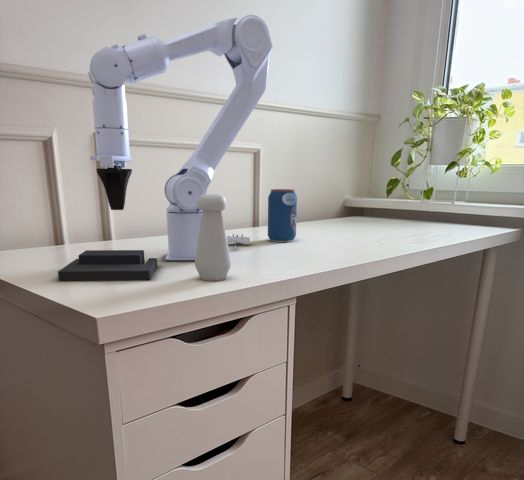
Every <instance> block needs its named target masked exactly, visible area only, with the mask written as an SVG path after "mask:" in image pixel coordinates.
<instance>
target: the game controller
mask: <svg viewBox="0 0 524 480" xmlns="http://www.w3.org/2000/svg"><path fill="white" fill-rule="evenodd" d="M240 235H241V236H239V234H236V235H235V234H234V233H232V236H230V235H226V238H227V243H228V244H229V243H233V244H234V246H233V249H236V246H237V244H242V243H243V244H250V241H251V239H250V237H249V236H244V234H243V233H242V234H240Z"/></svg>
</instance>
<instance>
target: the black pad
mask: <svg viewBox="0 0 524 480" xmlns="http://www.w3.org/2000/svg"><path fill="white" fill-rule="evenodd" d="M157 268H158V258H157V257H148V259H147V261H146V262H145V264H89V265H79V258H76V259H74V260H73V261H71V262H69V263H68V264H67V265H65V266H64V267H62V268H61V269H59V270H58V271H57V277H58V281H59V282H76V281H77V282H81V281H82V282H84V281H85V282H86V281H87V282H89V281H91V282H92V281H93V282H94V281H150V280H151V279H152V278H153V275H154V273H155V271H156V269H157Z"/></svg>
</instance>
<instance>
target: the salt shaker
mask: <svg viewBox="0 0 524 480" xmlns="http://www.w3.org/2000/svg"><path fill="white" fill-rule="evenodd" d="M198 208H199V209H200V210H202V216H201V223H200V230H199V236H198V243H197V250H196V257H195V260H194V267H195V269H196V271H197V274H198V276H199V278H200V279H202V280H203V281H213V282H217V281H222V280H223V281H224V280H226V279H227V276H228V273H229V271H230V270H231V267H232V258H231V254H230V248H229V243H227V238H226V237H227V232H226V229H225V228H226V227H225V222H224V218H223V217H224V216H223V212H222V211H224V210H226V208H227V200H226V197H225V196H224V195H223V194H218V193H206V194H204V195H201V196H200V197H199V198H198Z"/></svg>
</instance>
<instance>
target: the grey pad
mask: <svg viewBox="0 0 524 480" xmlns="http://www.w3.org/2000/svg"><path fill="white" fill-rule="evenodd" d="M78 259H79V265H89V264H145V263H146V262H145V260H146V259H145V250H144V249H104V250H103V249H102V250H101V249H99V250H98V249H97V250H94V249H93V250H89V249H88V250H87V249H86V250H84V251H83V252H81V253H80V254H79V255H78Z"/></svg>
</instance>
